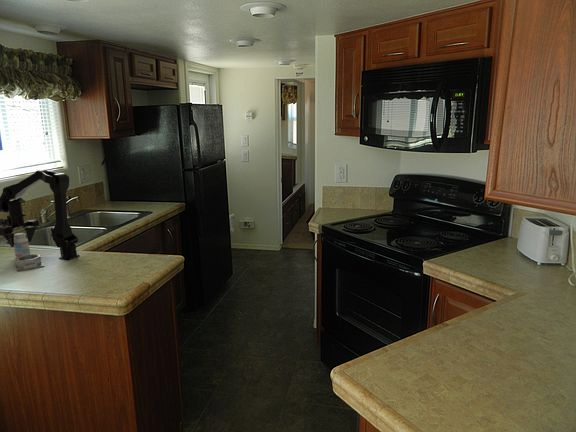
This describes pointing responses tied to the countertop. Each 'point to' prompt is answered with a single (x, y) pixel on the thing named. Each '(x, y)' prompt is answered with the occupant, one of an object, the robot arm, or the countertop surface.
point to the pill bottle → (21, 245)
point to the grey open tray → (29, 262)
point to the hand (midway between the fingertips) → (21, 244)
